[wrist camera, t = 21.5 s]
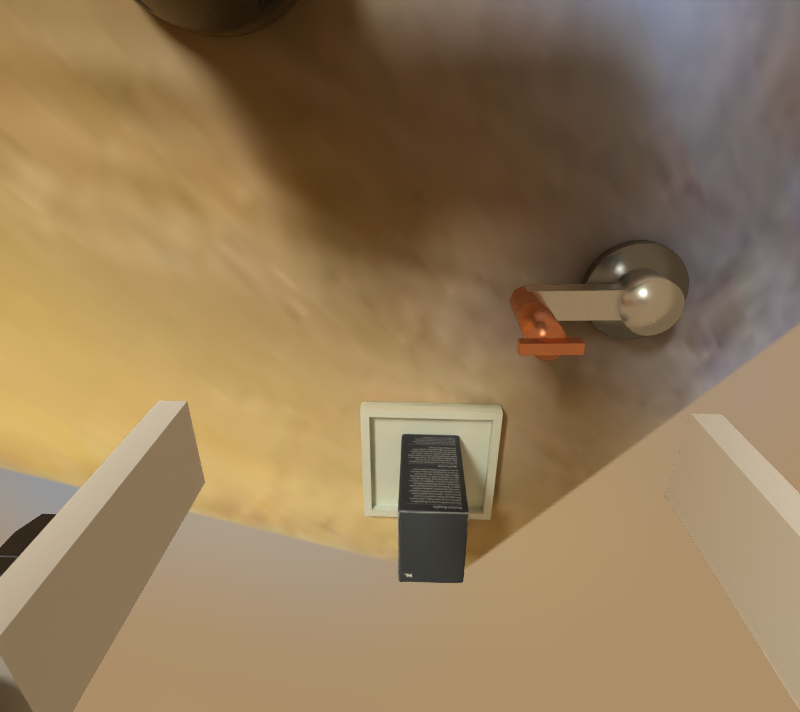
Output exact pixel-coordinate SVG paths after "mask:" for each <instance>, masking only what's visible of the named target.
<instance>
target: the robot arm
mask: <svg viewBox="0 0 800 712" xmlns="http://www.w3.org/2000/svg"><path fill="white" fill-rule="evenodd" d="M134 1H135V2H137V3H138V4H139V5H141V6H142V7H143V8H145V9H146V10H148V11H149V12H150V13H152V14H153V15H155V16H157V17H159V18H160V19H162V20H164V21H166V22H168V23H170V24H173V25H175V26H178V27H180V28H183V29H186V30H189V31H192V32H196V33H199V34H203V35H208V36H215V37H233V36H240V35H245V34H249V33H252V32H255V31H257V30H259V29H262V28H264V27H266V26H267V25H269V24H271V23H272V22H274V21H275V20H277V19H278V18H279V17H281V16H282V15H283V14H284V13H285V12H286V11H287V10H288V9H289V8H291V6H292V5H293V4H294V3H295V2H296V1H297V0H134ZM204 483H205V480H204V476H203V471H202V467H201V462H200V457H199V453H198V448H197V444H196V439H195V435H194V430H193V426H192V421H191V417H190V412H189V408H188V403H187V401H158V402H157V403H156V404H155V405H154V406H153V408H152V409H151V410H150V411H149V412H148V413H147V414H146V415H145V416H144V418H143V419H142V420H141V421H140V422H139V423H138V424H137V425H136V426H135V428H134V429H133V430H132V431H131V432H130V433H129V434H128V435H127V436H126V438H125V439H124V440H123V441H122V442H121V443H120V444H119V445H118V447H117V448H116V449H115V450H114V451H113V452H112V453H111V454H110V455H109V457H108V458H107V459H106V460H105V461H104V462H103V463H102V464H101V465H100V467H99V468H98V469H97V470H96V471H95V472H94V473H93V474H92V475H91V477H90V478H89V479H88V480H87V481H86V482H85V483H84V484H83V486H82V487H81V488H80V489H79V490H78V491H77V492H76V493H75V494H74V496H73V497H72V498H71V499H70V500H69V501H68V502H67V503H66V505H65V506H64V507H63V508H62V509H61V510H60V511H59V512H58V513H57V514H41V515H40V516H38V517H37V518H35V519H34V520H32V521H31V522H29V523H28V524H26V525H25V526H23V527H22V528H21V529H19V530H18V531H16V532H15V533H14V534H13V535H12V536H11V537H10V538H9V539H8V540H7V541H6V542H5V543H4V544H3V545H2V546H1V547H0V712H73V710H74V708H75V707H76V705H77V703H78V701H79V700H80V698H81V696H82V694H83V693H84V691H85V689H86V688H87V686H88V684H89V682H90V680H91V679H92V677H93V675H94V674H95V672H96V670H97V669H98V667H99V665H100V663H101V662H102V660H103V658H104V656H105V655H106V653H107V651H108V650H109V648H110V646H111V644H112V643H113V641H114V639H115V637H116V635H117V634H118V632H119V630H120V629H121V627H122V625H123V623H124V622H125V620H126V618H127V617H128V615H129V613H130V611H131V609H132V608H133V606H134V604H135V602H136V601H137V599H138V597H139V596H140V594H141V592H142V591H143V589H144V587H145V585H146V584H147V582H148V580H149V578H150V577H151V575H152V573H153V572H154V570H155V568H156V566H157V565H158V563H159V561H160V559H161V558H162V556H163V554H164V552H165V551H166V549H167V547H168V546H169V544H170V542H171V540H172V539H173V537H174V535H175V533H176V532H177V530H178V528H179V526H180V525H181V523H182V521H183V520H184V518H185V516H186V514H187V513H188V511H189V509H190V507H191V506H192V504H193V502H194V501H195V499H196V497H197V495H198V494H199V492H200V490H201V488H202V487H203V485H204ZM665 497H666V499H667V500H668V502H669V503H670V505H671V507H672V508H673V510H674V511H675V513H676V515H677V516H678V518H679V519H680V521H681V523H682V524H683V525H684V527H685V529H686V531H687V532H688V534H689V535H690V537H691V538H692V540H693V542H694V543H695V545H696V546H697V548H698V549H699V551H700V553H701V554H702V556H703V558H704V559H705V561H706V562H707V564H708V565H709V567H710V569H711V570H712V572H713V574H714V575H715V577H716V578H717V580H718V581H719V583H720V584H721V586H722V587H723V589H724V591H725V592H726V594H727V596H728V597H729V599H730V600H731V602H732V604H733V605H734V607H735V608H736V610H737V612H738V613H739V615H740V616H741V618H742V619H743V621H744V623H745V624H746V626H747V628H748V629H749V631H750V632H751V634H752V636H753V637H754V639H755V640H756V642H757V644H758V645H759V647H760V648H761V650H762V651H763V653H764V655H765V656H766V658H767V659H768V661H769V662H770V664H771V666H772V667H773V669H774V671H775V672H776V674H777V675H778V677H779V679H780V680H781V682H782V683H783V685H784V686H785V688H786V690H787V691H788V693H789V694H790V696H791V698H792V699H793V701H794V702H795V704H796V706H797V707H798V709H799V710H800V494H799V493H798V492H797V491H796V490H795V489H794V488H793V487H792V486H791V485H790V484H789V483H788V482H787V481H786V480H785V479H784V478H783V477H782V476H781V475H780V474H779V472H778V471H776V469H775V468H774V467H773V466H771V464H770V463H769V462H768V461H767V460H766V459H765V458H764V457H763V456H762V455H761V454H760V453H759V452H758V451H757V450H756V449H755V448H754V447H753V446H752V445H751V444H750V443H749V442H748V441H747V440H746V439H745V438H744V437H743V436H742V435H741V434H740V433H739V432H738V431H737V430H736V429H735V428H734V427H733V426H732V425H731V424H730V423H729V422H728V420H727V419H725V418H724V416H723V415H722V414H691V416H690V419H689V422H688V425H687V428H686V431H685V434H684V437H683V441H682V444H681V447H680V450H679V453H678V456H677V460H676V462H675V466H674V469H673V472H672V475H671V478H670V481H669V484H668V488H667V491H666V494H665Z"/></svg>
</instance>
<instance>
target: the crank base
mask: <svg viewBox="0 0 800 712" xmlns="http://www.w3.org/2000/svg"><path fill="white" fill-rule="evenodd" d="M638 268H649V269H652V270H655V271H657V272H658V273H660V274H661V275H663V276H664V277H665V278H667V279H668V280H670V281H671V282H673V283H674V284H676V285H677V286H678V287H679V288H680V289H681V291H682V293H683V295H684V300H685V299H686V296H687V292H688V286H689V279H688V273H687V269H686V267H685V265H684V263H683V261H682V260H681V259H680V257H679V256H678V255H677V254H675V253H674V252H673V251H671V250H670V249H668V248H666V247H664V246H662V245H661V244H658V243H656V242H652V241H646V240H634V241H629V242H625V243H622V244H619V245H617V246H614V247H613V248H611V249H609V250H607V251H606V252H605V253H603V254H602V255H601V256H600V257H599V258H597V259H596V261H595V262H594V263H593V264H592V265H591V267H590V268H589V270H588V271H587V273H586V275H585V277H584V280H583V283H582V284H614V283H615V282H616V281H617V280H618V279H619V278H620V277H621V276H622V275H623V274H625V273H627V272H629V271H631V270H634V269H638ZM590 321H591V322H592V324H593V325H594V326H595V327H596V328H597V329H598V330H600V331H601V332H602V333H604V334H606V335H608V336H611V337H614V338H619V339H634V338H640V337H644V335H639V334H636V333H634V332H632V331H631V330H630V329H629V328H628V327H627V326H626V325H625V324H624V323H623V322H622V321H621V320H590Z"/></svg>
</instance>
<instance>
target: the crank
mask: <svg viewBox="0 0 800 712" xmlns="http://www.w3.org/2000/svg"><path fill="white" fill-rule="evenodd" d="M510 305H511V308H512V310H513V312H514V314H515V316H516V319H517V321H518V323H519V325H520V327H521V330H522V332H523V334H524V336H525V339H518V346H517V351H518V353H519V355H534V356H535V357H536V358H538V359H540V360H545V361H550V360H554V359H557V358H558V357H560V356H561V355H584V350H585V342H584V341H583V339H582V338H568V337H567V335H566V333H565V332H564V330H563V329H562V327H561V325H560V324H559V322H558V321H590V320H621V321H622V322H623V323H624V324H625V325H626V326H627V327H628V328H629V329H630V330H631V331H632V332H634V333H636V334H639V335H644V336H650V335H656V334H660V333H662V332H664V331H666V330H668V329H669V328H671V327H672V326H673V325H674V324H675V323H676V322H677V321H678V320H679V318H680V316H681V315H682V312H683V310H684V305H685V300H684V295H683V293H682V291H681V289H680V288H679V287H678V286H677V285H676V284H674V283H673V282H671V281H670V280H668V279H667V278H665V277H664V276H663V275H661V274H660V273H658V272H657V271H655V270H652V269H649V268H638V269H634V270H631V271H629V272H627V273H625V274H623V275H622V276H621V277H620V278H619V279H618V280H617V281H616V282H615V283H614V284H541V285H524V286H523V287H520V288H518V289H517V290H515V291H514V293H513V294H512V296H511V299H510Z"/></svg>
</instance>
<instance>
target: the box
mask: <svg viewBox="0 0 800 712" xmlns="http://www.w3.org/2000/svg"><path fill="white" fill-rule="evenodd" d="M397 514H398V535H399V536H398V540H399V542H398V546H399V550H398V553H399V554H398V580H399V581H400V582H435V583H461V582H463V577H464V565H465V553H466V542H467V530H468V519H469V509H468V502H467V495H466V487H465V479H464V471H463V463H462V455H461V448H460V440H459V436H457V435H430V434H403V435H402V439H401V461H400V480H399V499H398V512H397Z"/></svg>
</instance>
